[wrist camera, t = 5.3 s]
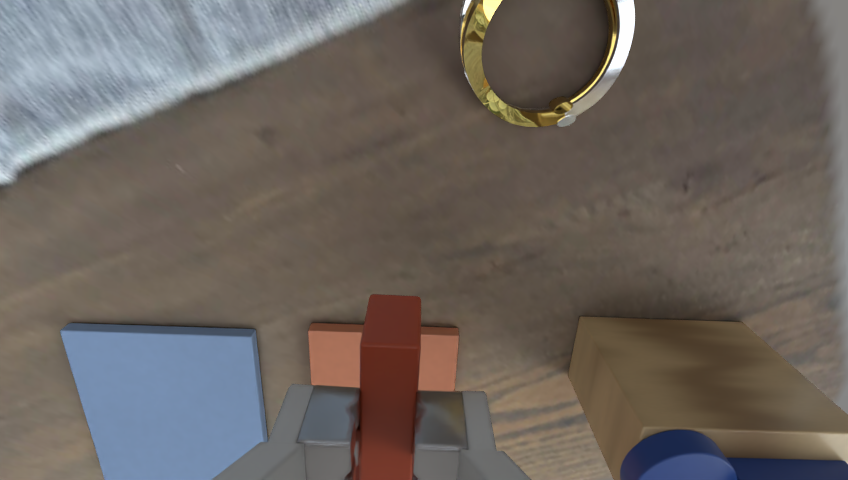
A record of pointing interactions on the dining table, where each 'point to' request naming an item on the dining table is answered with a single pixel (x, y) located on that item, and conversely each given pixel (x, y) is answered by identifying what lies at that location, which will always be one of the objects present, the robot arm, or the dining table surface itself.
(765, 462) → the blue spoon
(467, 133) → the dining table surface
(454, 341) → the terracotta tile
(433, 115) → the dining table surface
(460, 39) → the ring
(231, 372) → the blue tile
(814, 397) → the spoon stand
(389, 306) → the terracotta spoon
